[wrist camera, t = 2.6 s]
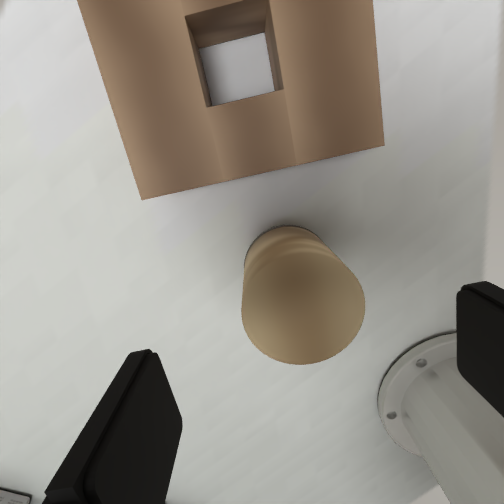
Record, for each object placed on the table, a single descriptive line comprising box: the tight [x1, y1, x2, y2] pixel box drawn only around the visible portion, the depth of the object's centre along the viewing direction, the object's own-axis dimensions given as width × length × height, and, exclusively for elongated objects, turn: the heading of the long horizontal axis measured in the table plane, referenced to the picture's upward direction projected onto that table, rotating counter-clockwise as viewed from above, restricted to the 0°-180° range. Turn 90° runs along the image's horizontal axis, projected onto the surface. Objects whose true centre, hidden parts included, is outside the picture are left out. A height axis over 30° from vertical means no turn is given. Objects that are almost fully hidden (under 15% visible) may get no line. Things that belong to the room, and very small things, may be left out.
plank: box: [77, 0, 384, 200], centre depth 16 cm, size 14×12×4 cm
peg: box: [241, 225, 365, 365], centre depth 17 cm, size 5×5×10 cm
